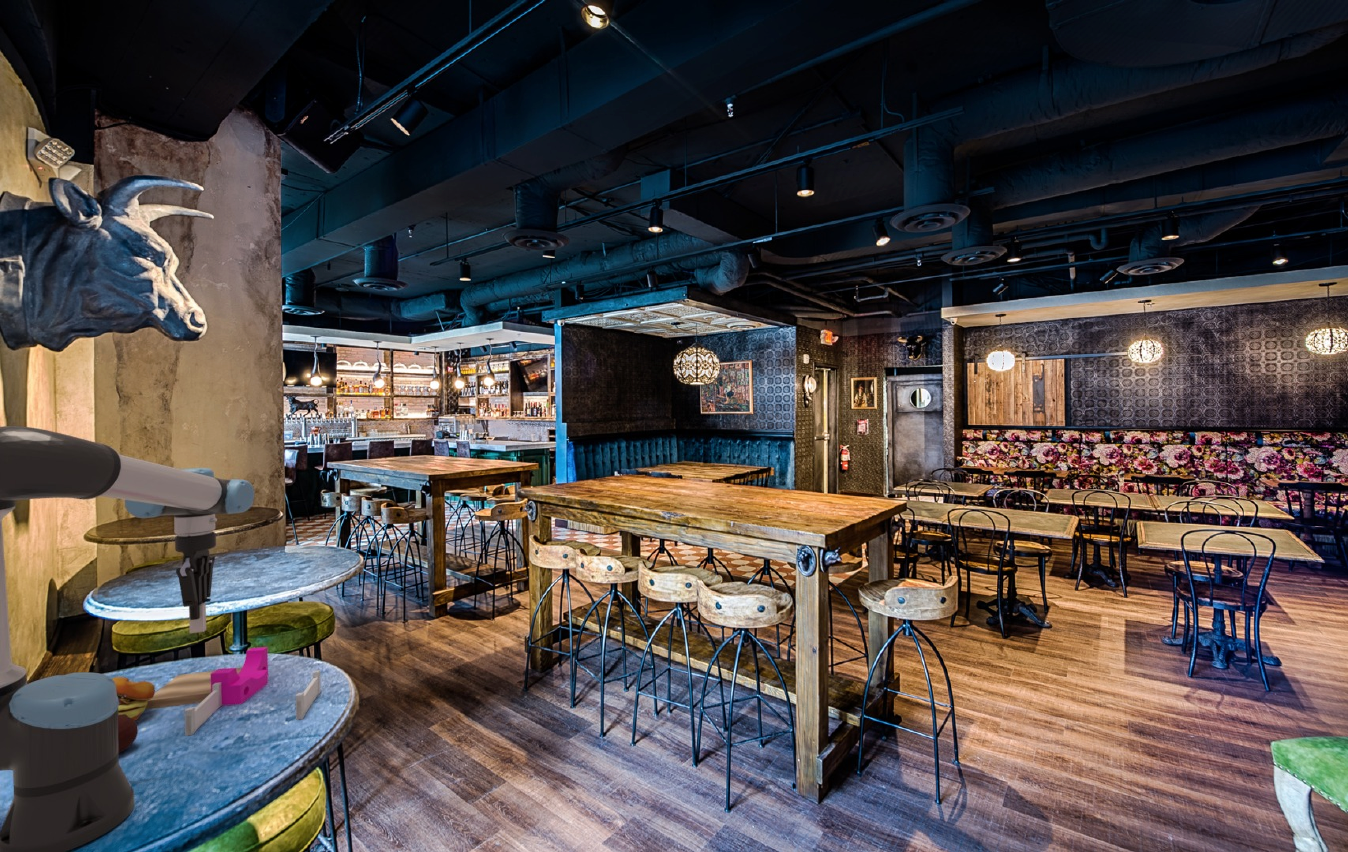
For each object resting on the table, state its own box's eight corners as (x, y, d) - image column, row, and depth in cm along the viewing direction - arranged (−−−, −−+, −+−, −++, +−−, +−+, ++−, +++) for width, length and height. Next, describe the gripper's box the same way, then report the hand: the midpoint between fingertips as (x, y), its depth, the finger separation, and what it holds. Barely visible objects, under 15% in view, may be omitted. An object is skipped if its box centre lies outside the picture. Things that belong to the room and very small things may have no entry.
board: (219, 700, 133) (218, 691, 133) (145, 709, 129) (144, 700, 129) (244, 674, 146) (244, 666, 146) (178, 682, 142) (178, 674, 142)
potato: (87, 769, 107) (86, 731, 107) (83, 754, 112) (82, 718, 112) (141, 751, 112) (140, 715, 112) (135, 738, 117) (134, 703, 117)
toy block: (241, 704, 131) (240, 671, 131) (211, 706, 130) (210, 673, 130) (278, 675, 146) (278, 646, 146) (252, 677, 145) (251, 647, 145)
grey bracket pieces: (302, 718, 124) (301, 694, 124) (185, 735, 118) (184, 710, 118) (320, 691, 136) (320, 669, 136) (215, 705, 130) (214, 683, 130)
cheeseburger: (62, 726, 119) (86, 674, 122) (123, 724, 128) (144, 675, 131) (89, 733, 115) (113, 678, 119) (150, 730, 124) (170, 680, 128)
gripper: (200, 537, 132) (203, 639, 132) (226, 527, 145) (229, 620, 145) (161, 539, 130) (163, 643, 130) (191, 529, 142) (193, 624, 143)
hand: (198, 631), depth 138 cm, fingers closed
